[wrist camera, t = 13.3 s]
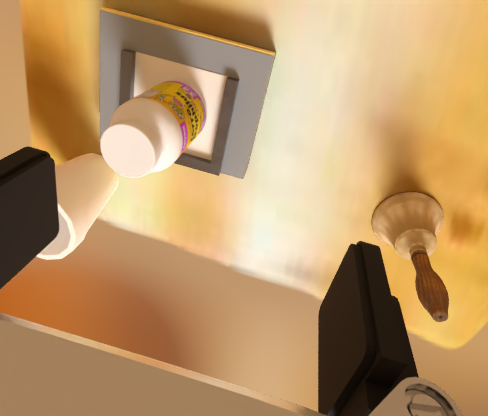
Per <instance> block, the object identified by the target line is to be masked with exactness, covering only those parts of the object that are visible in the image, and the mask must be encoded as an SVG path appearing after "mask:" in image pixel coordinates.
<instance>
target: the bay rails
mask: <svg viewBox="0 0 488 416" xmlns="http://www.w3.org/2000/svg"><path fill="white" fill-rule="evenodd" d="M135 60H136V52H135V51H132V50H128V49H123V50H121V65H120V98H119V106H121V105H122V104H124V103H125V102H127V101H129V100H130V99H132V98H134V80H135ZM238 85H239V79H235V78H231V77H227V78H226V83H225V88H224V93H223V99H222V104H221V110H220V115H219V121H218V126H217V131H216V137H215V142H214V148H213V153H212V158H211V160H208V159H205V158H201V157H197V156H194V155H190V154H187V153H182V154H181V155H180V156H179V157H178V159H177V160H176V161H175V162H174V163H176V164H179V165H183V166H186V167H190V168H193V169H197V170H200V171H204V172H208V173H211V174H215V175H218V176H219V174H220V172H221V168H222V163H223V158H224V153H225V148H226V143H227V139H228V134H229V129H230V124H231V119H232V114H233V109H234V104H235V99H236V94H237V90H238Z"/></svg>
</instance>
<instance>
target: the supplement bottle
mask: <svg viewBox="0 0 488 416" xmlns="http://www.w3.org/2000/svg"><path fill="white" fill-rule="evenodd" d="M206 119H207V110H206V105H205V102H204V100H203V98H202V96H201V95H200V94H199V92H198V91H197V90H196V89H195V88H194V87H192V86H191V85H189V84H187V83H185V82H182V81H177V80H170V81H166V82H163V83H160V84H158V85H156V86H154V87H153V88H151V89H149V90H147V91H145V92H143V93H142V94H140V95H138V96H136V97H134V98H132V99H130V100H129V101H127V102H125V103H124V104H122V105H121V106H119V107H118V108H117V109H116V111H115V112H114V113H113V115H112V118H111V120H110V125H109V127H108V128H107V129H106V130H105V131H104V133H103V134H102V137H101V141H100V148H101V152H102V155H103V158H104V159H105V161H106V163H107V164H108V165H109V166H110V167H111V168H112V169H113V170H114V171H115V172H117V173H119V174H120V175H123V176H125V177H130V178H138V177H142V176H144V175H146V174H148V173H149V172H158V171H161V170H164V169H166V168H168V167H169V166H171V165H172V164H173V163H174V162H175V161H176V160H177V159H178V157H179V156H180V155H181V154H182V153H183V152H184V151H185V150H186V148H187V147H188V146H189V145H190V144H191V143H192V142H193V140H194V139H195V138H196V137H197V136H198V135H199V134H200V132H201V131H202V130H203V128H204V126H205V123H206Z"/></svg>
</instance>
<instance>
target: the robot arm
mask: <svg viewBox="0 0 488 416" xmlns="http://www.w3.org/2000/svg"><path fill="white" fill-rule="evenodd" d="M58 232H59V216H58V202H57V189H56V175H55V163H54V160H53V159H52V158H50V155H49V153H48V152H46V151H42V150H39V149H35V148H32V147H24V148H22V149H20V150H19V151H17V152H15V153H13V154H11V155H9V156H7V157H5V158H3V159H1V160H0V289H1V288H2V287H3V286H4V285H5V284H6V283H7V282H9V281H10V280H11V279H12V278H13V277H14V276H15V275H16V274H17V273H18V272H19V271H21V270H22V269H23V268H24V267H25V266H26V265H27V264H28V263H29V262H30V261H31V260H32V259H33V258H35V257H36V256H37V255H38V254H39V253H40V252H41V251H42V250H43V249H44V248H45V247H47V246H48V245H49V244H50V243H51V242H52V241H53V240H54V239H55V238H56V237H57V235H58ZM318 346H319V350H318V354H319V355H318V360H319V362H318V364H319V365H318V369H319V371H318V375H319V376H318V379H319V380H318V381H319V382H318V383H319V384H318V385H319V386H318V388H319V389H318V406H319V407H318V412H316V411H313V410H311V409H308V408H305V407H303V406H300V405H297V404H293V403H291V402H287V401H284V400H281V399H278V398H275V397H272V396H269V395H266V394H263V393H260V392H257V391H254V390H251V389H248V388H244V387H242V386H239V385H235V384H232V383H229V382H226V381H223V380H219V379H216V378H213V377H210V376H206V375H203V374H200V373H197V372H194V371H190V370H187V369H184V368H181V367H178V366H174V365H171V364H167V363H165V362H161V361H158V360H155V359H152V358H149V357H145V356H142V355H139V354H136V353H132V352H129V351H126V350H122V349H119V348H116V347H112V346H109V345H106V344H103V343H99V342H96V341H93V340H90V339H86V338H83V337H80V336H77V335H73V334H70V333H67V332H63V331H60V330H57V329H53V328H50V327H47V326H43V325H40V324H37V323H34V322H30V321H27V320H23V319H20V318H17V317H14V316H10V315H6V314H3V313H0V416H463V415H462V413H461V411H460V409H459V408H458V406H457V405H456V403H455V402H454V400H453V399H452V398H451V397H450V396H449V395H448V394H447V393H446V392H445V391H444V390H442V389H441V388H440V387H438V386H437V385H436V384H434V383H432V382H430V381H428V380H426V379H422V378H419V377H418V373H417V369H416V365H415V361H414V358H413V354H412V350H411V346H410V342H409V338H408V335H407V331H406V327H405V323H404V319H403V315H402V312H401V308H400V304H399V301H398V299H397V298H396V297H395V296H391V292H390V288H389V284H388V280H387V276H386V271H385V267H384V263H383V259H382V255H381V251H380V248H379V246H376V245H372V244H369V243H365V242H362V241H359V242H358V243H357V244H356V245H355V244H351V245H350V246H349V248H348V250H347V252H346V254H345V256H344V258H343V260H342V262H341V264H340V267H339V269H338V271H337V273H336V275H335V277H334V279H333V281H332V283H331V285H330V287H329V289H328V292H327V294H326V296H325V298H324V300H323V302H322V304H321V307H320V310H319V345H318Z"/></svg>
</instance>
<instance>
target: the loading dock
mask: <svg viewBox="0 0 488 416" xmlns="http://www.w3.org/2000/svg"><path fill="white" fill-rule="evenodd" d="M123 49H128V50H132V51H135V52H136V60H135V80H134V97H136V96H138V95H140V94H142V93H143V92H145V91H147V90H149V89H151V88H153V87H154V86H156V85H158V84H160V83H163V82H166V81H170V80H177V81H182V82H185V83H187V84H189V85H191V86H192V87H194V88H195V89H196V90H197V91H198V92H199V94H200V95H201V96H202V98H203V100H204V102H205V105H206V110H207V119H206V123H205V126H204V128H203V130H202V131H201V132H200V134H199V135H198V136H197V137H196V138H195V139H194V140H193V142H192V143H191V144H190V145H189V146H188V147H187V148H186V150H185V151H184V152H183V153H187V154H190V155H194V156H197V157H201V158H205V159H208V160H211V158H212V153H213V148H214V142H215V137H216V131H217V126H218V121H219V115H220V110H221V104H222V99H223V93H224V88H225V83H226V78H227V77H231V78H235V79H239V85H238V90H237V94H236V99H235V104H234V109H233V114H232V119H231V124H230V129H229V134H228V139H227V143H226V148H225V153H224V158H223V163H222V168H221V172H220V173H223V174H227V175H230V176H234V177H237V178H241V179H243V178H244V176H245V173H246V171H247V168H248V164H249V160H250V156H251V152H252V148H253V144H254V140H255V136H256V132H257V128H258V123H259V119H260V115H261V111H262V107H263V103H264V99H265V95H266V91H267V87H268V83H269V79H270V75H271V71H272V67H273V63H274V59H275V55H276V52H274V51H270V50H266V49H262V48H259V47H255V46H251V45H247V44H243V43H240V42H236V41H232V40H228V39H225V38H221V37H217V36H213V35H210V34H206V33H202V32H198V31H195V30H191V29H187V28H183V27H180V26H176V25H172V24H168V23H165V22H161V21H157V20H153V19H150V18H146V17H142V16H138V15H135V14H131V13H127V12H123V11H120V10H116V9H110V8H107V7H106V8H101V10H100V139H101V137H102V134H103V133H104V131H105V130H106V129H107V128H108V127H109V125H110V120H111V118H112V115H113V113H114V112H115V111H116V109H117V108H118V107H119V98H120V65H121V50H123Z"/></svg>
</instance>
